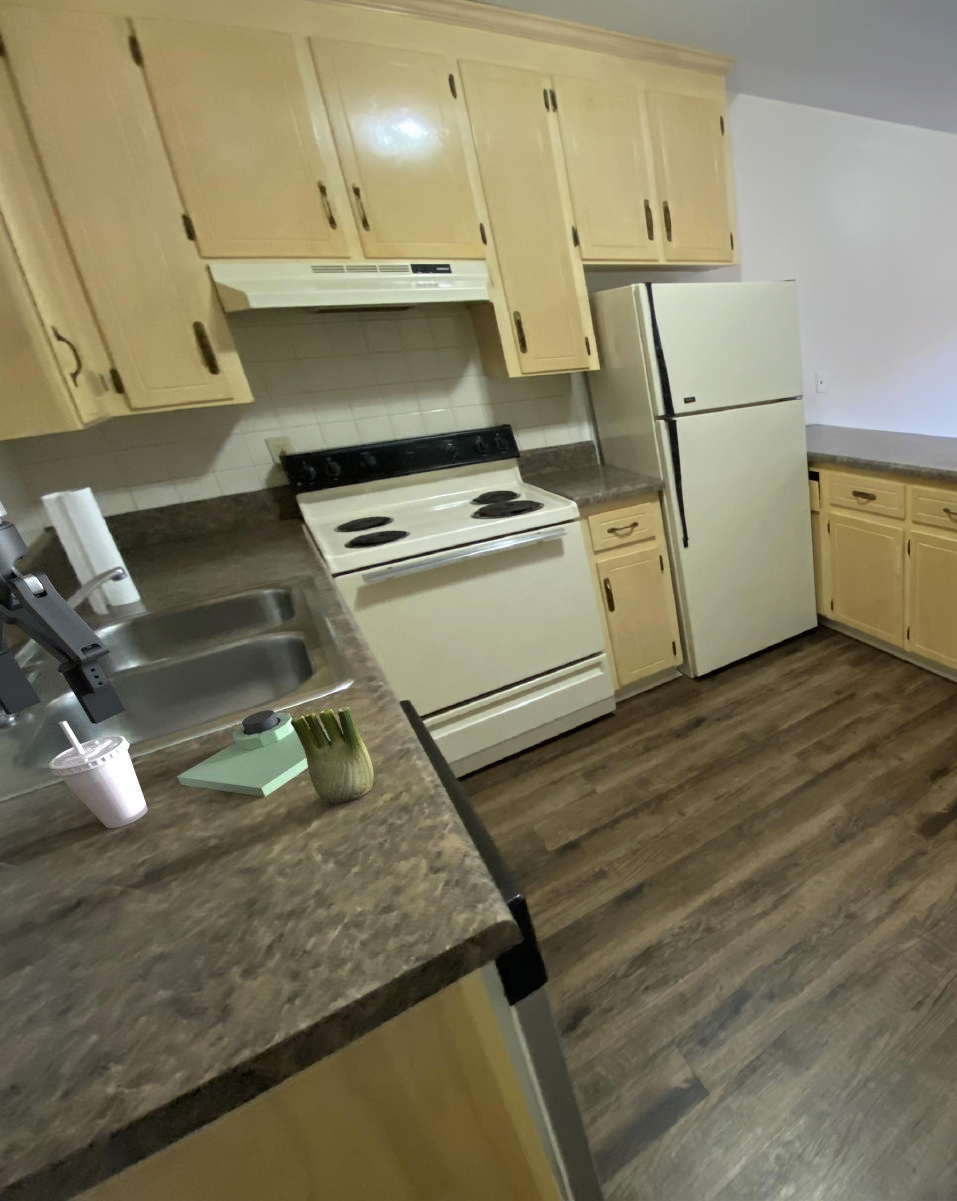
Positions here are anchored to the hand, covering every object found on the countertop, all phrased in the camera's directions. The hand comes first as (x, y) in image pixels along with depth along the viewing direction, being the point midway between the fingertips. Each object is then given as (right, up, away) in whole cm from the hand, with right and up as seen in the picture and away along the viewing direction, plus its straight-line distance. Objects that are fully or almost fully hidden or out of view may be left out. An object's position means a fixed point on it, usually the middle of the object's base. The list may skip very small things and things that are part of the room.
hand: (65, 712), depth 72 cm
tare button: (+7, -5, +18) cm, 20 cm away
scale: (+10, -9, +15) cm, 20 cm away
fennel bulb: (+27, -12, +7) cm, 30 cm away
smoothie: (+1, -14, +6) cm, 15 cm away
